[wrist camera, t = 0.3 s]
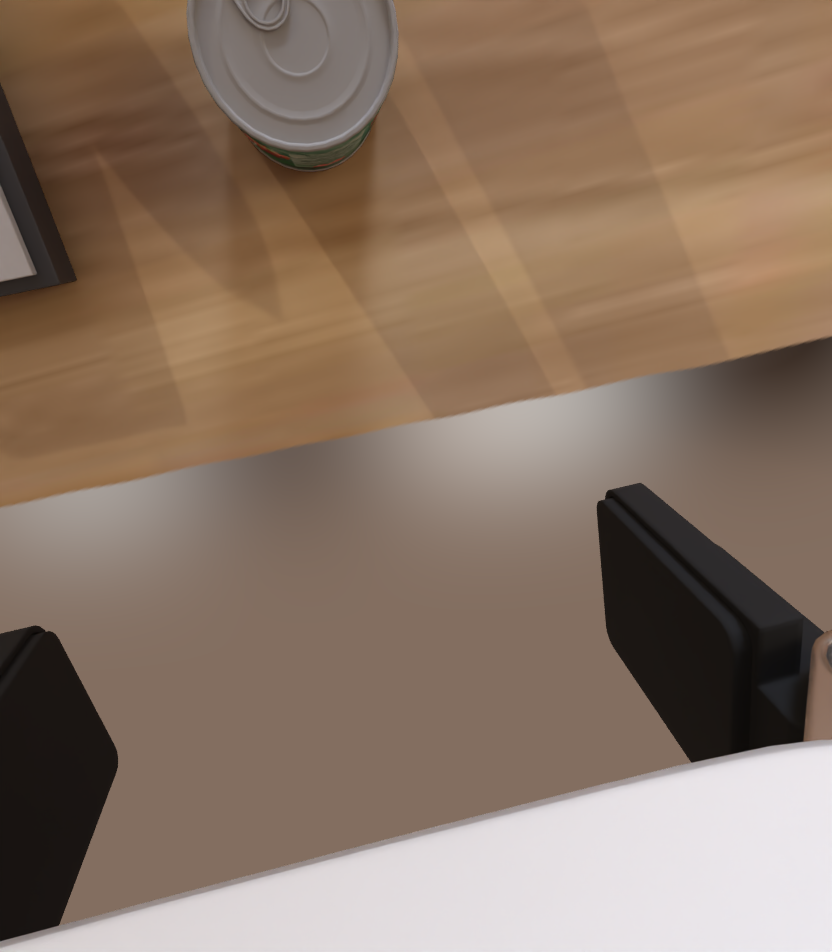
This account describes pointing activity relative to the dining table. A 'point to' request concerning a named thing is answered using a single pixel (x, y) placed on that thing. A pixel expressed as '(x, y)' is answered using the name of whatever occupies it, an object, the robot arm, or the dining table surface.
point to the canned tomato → (297, 72)
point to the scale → (25, 220)
